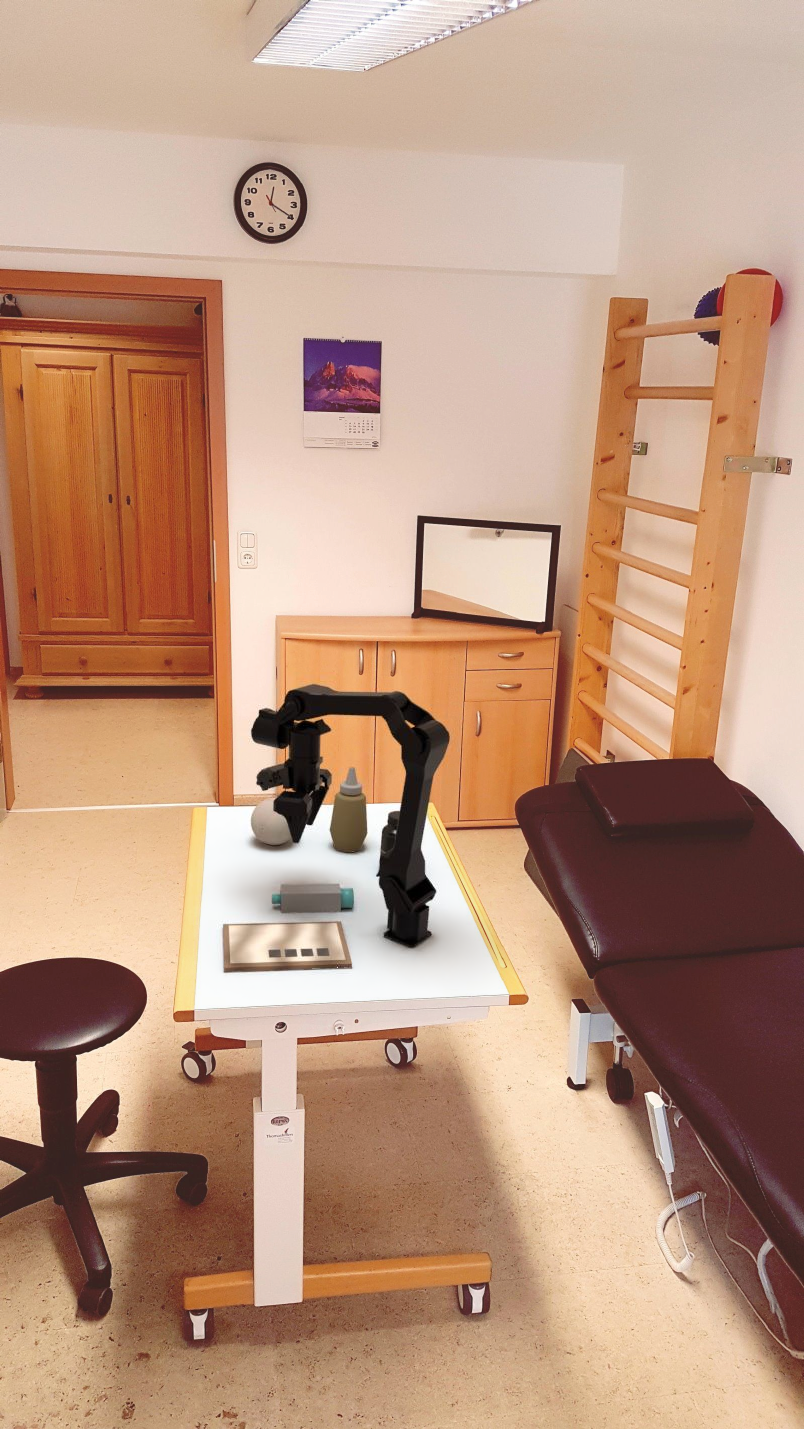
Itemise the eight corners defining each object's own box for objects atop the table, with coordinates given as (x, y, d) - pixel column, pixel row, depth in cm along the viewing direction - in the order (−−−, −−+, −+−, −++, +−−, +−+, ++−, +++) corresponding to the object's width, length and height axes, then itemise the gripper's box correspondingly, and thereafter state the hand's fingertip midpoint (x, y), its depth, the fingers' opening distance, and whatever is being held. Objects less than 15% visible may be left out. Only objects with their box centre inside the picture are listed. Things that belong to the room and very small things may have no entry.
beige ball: (241, 846, 215) (242, 801, 212) (265, 830, 224) (266, 787, 221) (282, 856, 211) (284, 811, 208) (305, 839, 220) (307, 796, 217)
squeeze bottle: (324, 841, 220) (328, 762, 215) (359, 838, 223) (364, 760, 218) (335, 856, 213) (339, 775, 208) (371, 853, 215) (376, 773, 211)
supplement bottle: (373, 870, 207) (376, 815, 204) (388, 859, 213) (392, 806, 210) (402, 879, 204) (406, 823, 201) (418, 867, 210) (422, 813, 207)
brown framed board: (340, 925, 184) (341, 919, 183) (351, 967, 169) (352, 962, 169) (222, 928, 180) (223, 922, 179) (224, 972, 165) (224, 966, 165)
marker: (350, 902, 193) (351, 883, 192) (353, 912, 189) (354, 893, 188) (271, 904, 190) (271, 884, 189) (272, 914, 186) (273, 894, 185)
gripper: (277, 736, 196) (276, 812, 200) (245, 764, 178) (245, 847, 182) (333, 741, 194) (331, 818, 198) (307, 770, 176) (305, 854, 180)
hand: (302, 833), depth 189 cm, fingers open, 9 cm apart
